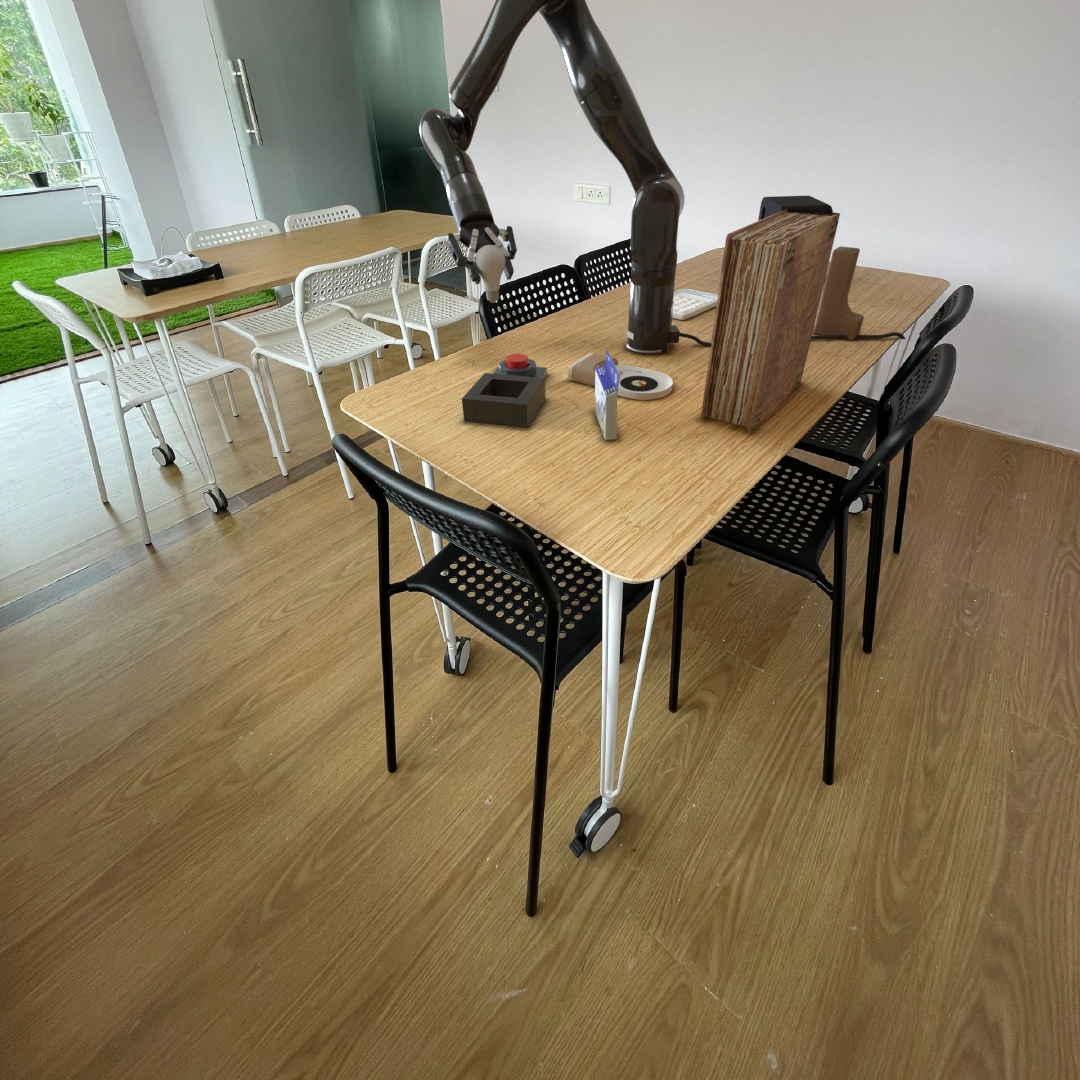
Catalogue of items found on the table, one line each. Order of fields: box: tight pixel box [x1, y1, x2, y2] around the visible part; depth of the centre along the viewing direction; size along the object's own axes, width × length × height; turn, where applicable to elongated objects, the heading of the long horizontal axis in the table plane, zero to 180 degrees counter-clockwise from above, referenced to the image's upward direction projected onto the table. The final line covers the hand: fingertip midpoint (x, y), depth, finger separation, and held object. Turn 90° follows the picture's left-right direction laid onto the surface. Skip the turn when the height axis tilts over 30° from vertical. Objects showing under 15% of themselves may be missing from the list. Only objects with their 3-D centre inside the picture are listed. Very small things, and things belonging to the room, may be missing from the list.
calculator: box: [672, 288, 718, 321], centre depth 161 cm, size 13×20×2 cm, turn 136°
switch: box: [491, 358, 548, 379], centre depth 125 cm, size 10×8×4 cm
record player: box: [567, 352, 674, 401], centre depth 122 cm, size 12×3×20 cm
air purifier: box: [757, 195, 834, 221], centre depth 177 cm, size 20×15×20 cm
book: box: [700, 209, 841, 433], centre depth 106 cm, size 25×9×30 cm, turn 143°
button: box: [505, 353, 529, 369], centre depth 123 cm, size 4×4×2 cm
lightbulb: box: [474, 245, 505, 304], centre depth 125 cm, size 6×6×11 cm
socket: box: [461, 372, 547, 429], centre depth 113 cm, size 12×12×4 cm
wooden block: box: [813, 246, 865, 341], centre depth 137 cm, size 9×4×18 cm, turn 52°
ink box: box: [594, 350, 620, 441], centre depth 105 cm, size 12×2×12 cm, turn 5°
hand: (494, 279), depth 124 cm, fingers closed on lightbulb, 6 cm apart
